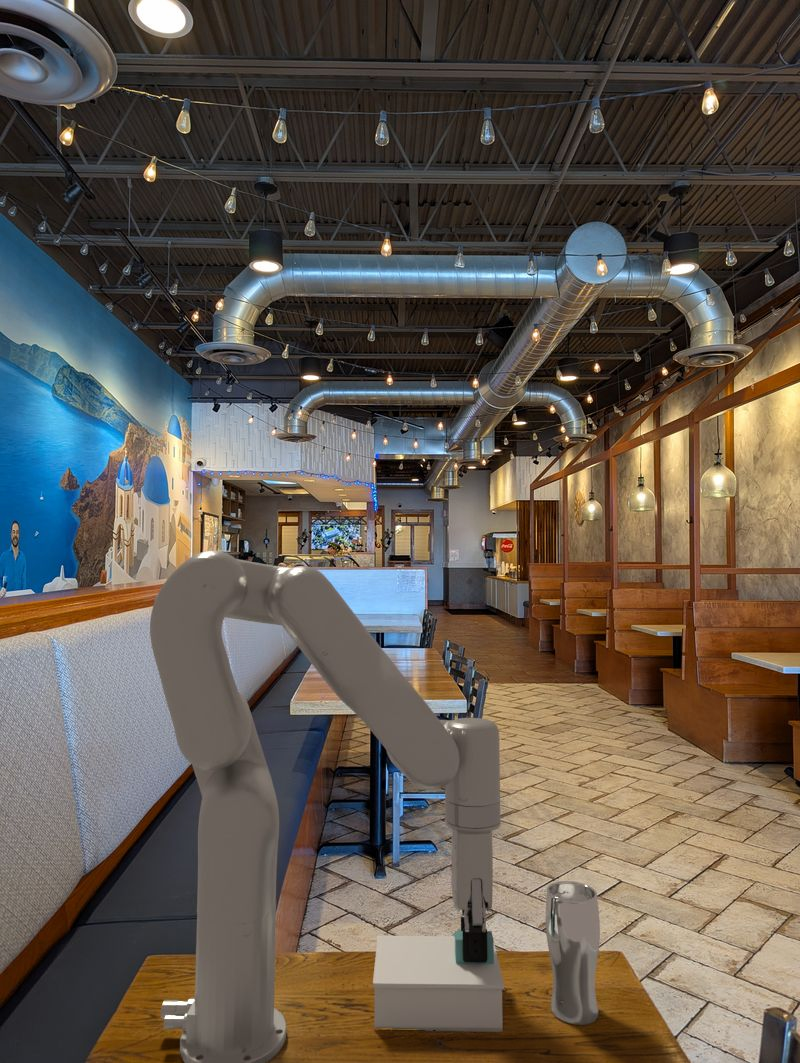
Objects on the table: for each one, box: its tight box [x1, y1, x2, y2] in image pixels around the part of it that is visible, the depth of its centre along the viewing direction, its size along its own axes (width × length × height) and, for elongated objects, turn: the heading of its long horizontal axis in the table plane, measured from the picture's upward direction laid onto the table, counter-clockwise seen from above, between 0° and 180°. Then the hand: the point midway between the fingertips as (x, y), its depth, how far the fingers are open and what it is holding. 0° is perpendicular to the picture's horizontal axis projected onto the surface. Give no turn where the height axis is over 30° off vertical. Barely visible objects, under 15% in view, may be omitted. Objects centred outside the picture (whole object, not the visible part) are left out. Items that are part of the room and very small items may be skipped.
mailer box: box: [373, 988, 504, 1033], centre depth 90 cm, size 16×11×5 cm
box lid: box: [372, 930, 505, 990], centre depth 90 cm, size 16×12×4 cm
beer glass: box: [545, 880, 601, 1026], centre depth 89 cm, size 7×7×15 cm
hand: (473, 953), depth 90 cm, fingers closed on box lid, 2 cm apart
